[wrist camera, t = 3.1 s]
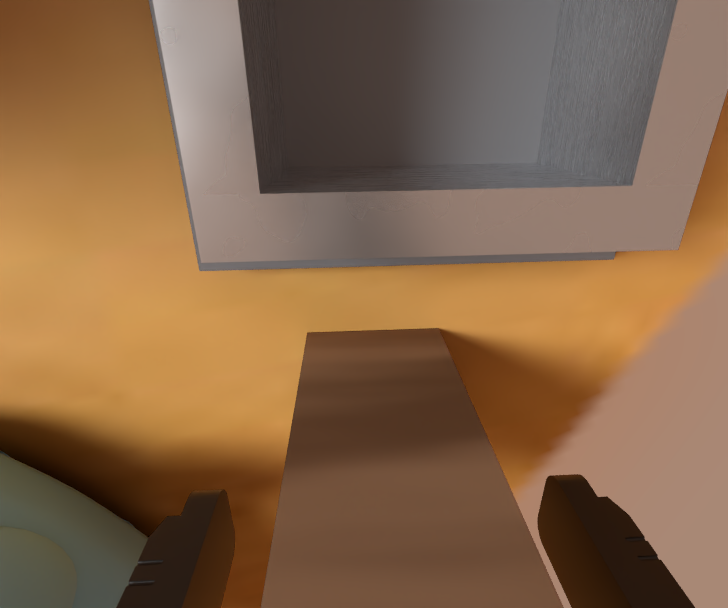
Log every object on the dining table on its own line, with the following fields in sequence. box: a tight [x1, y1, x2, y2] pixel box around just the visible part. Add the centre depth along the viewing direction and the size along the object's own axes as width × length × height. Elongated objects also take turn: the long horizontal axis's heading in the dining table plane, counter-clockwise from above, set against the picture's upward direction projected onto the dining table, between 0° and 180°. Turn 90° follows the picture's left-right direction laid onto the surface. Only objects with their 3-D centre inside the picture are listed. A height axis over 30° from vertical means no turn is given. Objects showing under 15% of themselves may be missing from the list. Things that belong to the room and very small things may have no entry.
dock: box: [149, 0, 728, 271], centre depth 8 cm, size 12×12×5 cm
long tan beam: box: [261, 328, 563, 608], centre depth 10 cm, size 4×4×12 cm
